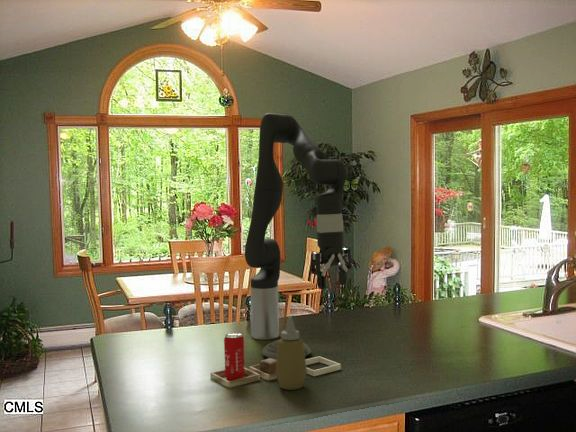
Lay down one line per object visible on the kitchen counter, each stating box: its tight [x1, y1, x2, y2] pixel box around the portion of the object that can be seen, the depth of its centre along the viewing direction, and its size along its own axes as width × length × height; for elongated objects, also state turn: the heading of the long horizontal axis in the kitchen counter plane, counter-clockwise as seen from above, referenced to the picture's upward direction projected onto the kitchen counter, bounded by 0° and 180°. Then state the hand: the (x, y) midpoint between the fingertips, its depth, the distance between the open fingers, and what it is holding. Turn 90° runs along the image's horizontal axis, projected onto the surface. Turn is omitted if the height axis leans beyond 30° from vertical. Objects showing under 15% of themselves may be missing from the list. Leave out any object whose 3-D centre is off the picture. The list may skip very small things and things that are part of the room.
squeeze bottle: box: [276, 316, 307, 391], centre depth 155 cm, size 8×8×18 cm
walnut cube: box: [259, 357, 277, 374], centre depth 165 cm, size 4×4×4 cm
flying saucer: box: [261, 338, 312, 359], centre depth 183 cm, size 15×15×6 cm
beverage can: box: [223, 332, 246, 381], centre depth 161 cm, size 5×5×12 cm
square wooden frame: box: [248, 363, 278, 382], centre depth 167 cm, size 10×10×2 cm
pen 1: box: [210, 366, 261, 389], centre depth 162 cm, size 10×10×2 cm
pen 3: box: [305, 355, 342, 377], centre depth 169 cm, size 10×10×2 cm
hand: (332, 286), depth 171 cm, fingers open, 8 cm apart
